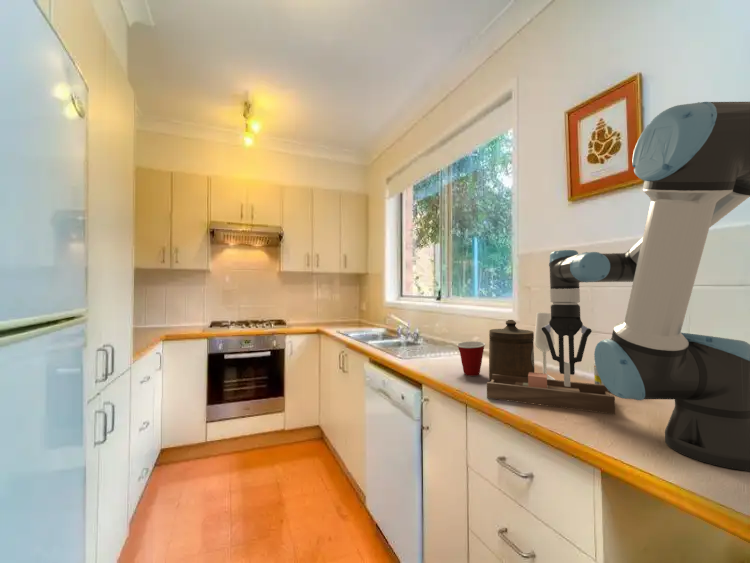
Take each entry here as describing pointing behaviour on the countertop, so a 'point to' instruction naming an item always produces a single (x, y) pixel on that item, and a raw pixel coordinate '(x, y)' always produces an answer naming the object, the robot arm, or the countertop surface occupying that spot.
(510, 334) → the wooden container
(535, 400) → the box
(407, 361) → the countertop surface
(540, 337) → the champagne flute
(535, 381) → the block
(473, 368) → the plastic cup
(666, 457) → the countertop surface
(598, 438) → the countertop surface
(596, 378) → the supplement bottle
